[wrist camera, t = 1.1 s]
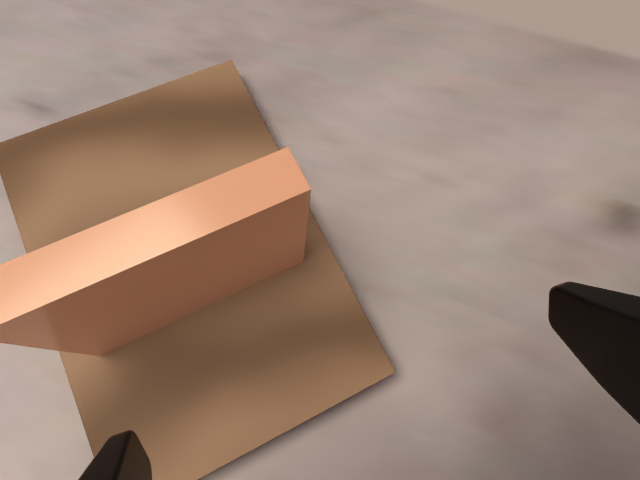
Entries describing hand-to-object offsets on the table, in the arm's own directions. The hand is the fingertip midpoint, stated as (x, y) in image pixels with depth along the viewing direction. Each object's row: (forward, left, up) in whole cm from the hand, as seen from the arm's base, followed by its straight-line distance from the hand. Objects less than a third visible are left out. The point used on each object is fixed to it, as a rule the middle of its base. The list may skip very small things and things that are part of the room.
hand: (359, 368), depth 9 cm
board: (+7, +5, -13) cm, 16 cm away
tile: (+5, +5, -12) cm, 13 cm away
